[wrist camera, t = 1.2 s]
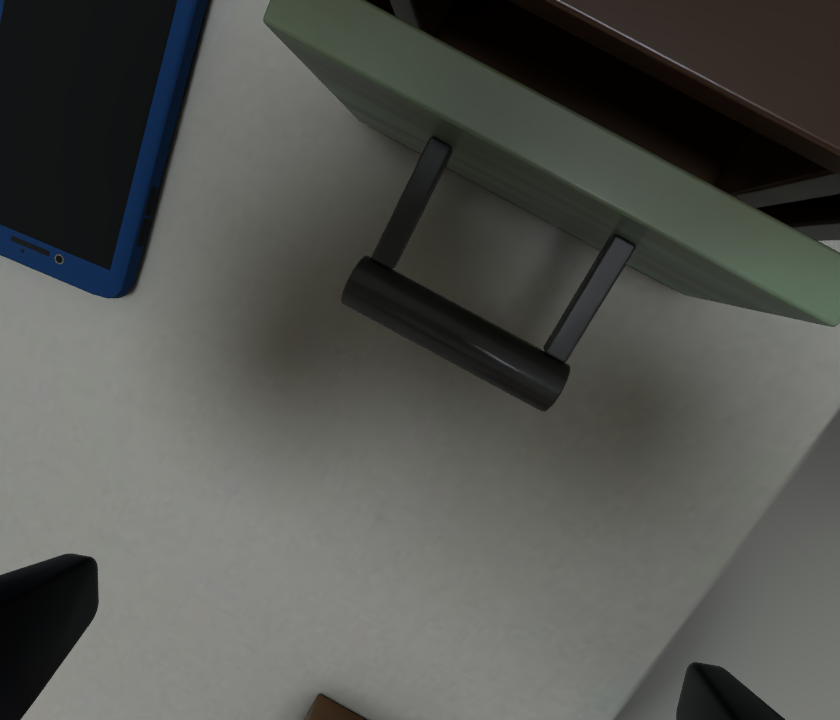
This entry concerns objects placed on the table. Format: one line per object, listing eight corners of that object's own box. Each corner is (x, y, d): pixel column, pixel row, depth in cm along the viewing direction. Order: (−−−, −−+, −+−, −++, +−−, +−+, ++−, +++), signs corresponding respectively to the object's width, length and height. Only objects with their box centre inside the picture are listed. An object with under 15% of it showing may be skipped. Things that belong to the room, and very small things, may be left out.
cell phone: (231, -82, 18) (219, -97, 17) (130, 305, 21) (117, 306, 20) (34, -158, 18) (15, -176, 17) (-36, 235, 21) (-54, 234, 20)
